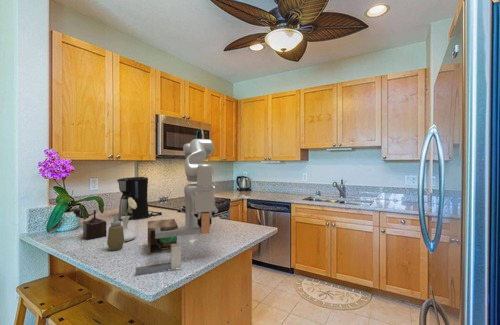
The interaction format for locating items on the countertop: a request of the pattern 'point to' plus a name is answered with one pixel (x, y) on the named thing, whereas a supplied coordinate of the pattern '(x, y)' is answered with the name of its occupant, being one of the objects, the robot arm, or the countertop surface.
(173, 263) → the l-shaped tool
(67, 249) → the countertop surface
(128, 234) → the flower in vase
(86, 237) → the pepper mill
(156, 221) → the walnut cubby
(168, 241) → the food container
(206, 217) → the crook tool
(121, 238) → the squeeze bottle
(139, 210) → the coffee maker
